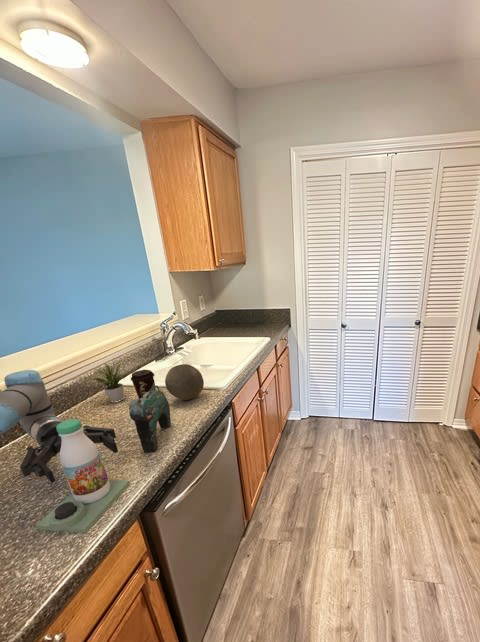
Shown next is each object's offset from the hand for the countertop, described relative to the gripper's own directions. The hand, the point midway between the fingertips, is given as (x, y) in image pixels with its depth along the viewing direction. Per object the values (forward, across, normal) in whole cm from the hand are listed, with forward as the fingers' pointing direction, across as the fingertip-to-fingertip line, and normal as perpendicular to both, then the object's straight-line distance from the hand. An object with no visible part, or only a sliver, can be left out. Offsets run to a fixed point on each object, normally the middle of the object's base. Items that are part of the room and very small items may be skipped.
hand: (85, 461), depth 74 cm
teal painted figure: (-16, -24, -12) cm, 32 cm away
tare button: (+1, +7, -10) cm, 12 cm away
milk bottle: (-3, 0, -11) cm, 12 cm away
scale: (-2, +2, -12) cm, 13 cm away
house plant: (-61, -32, -12) cm, 70 cm away
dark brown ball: (-34, -48, -12) cm, 60 cm away
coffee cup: (-46, -38, -12) cm, 61 cm away
